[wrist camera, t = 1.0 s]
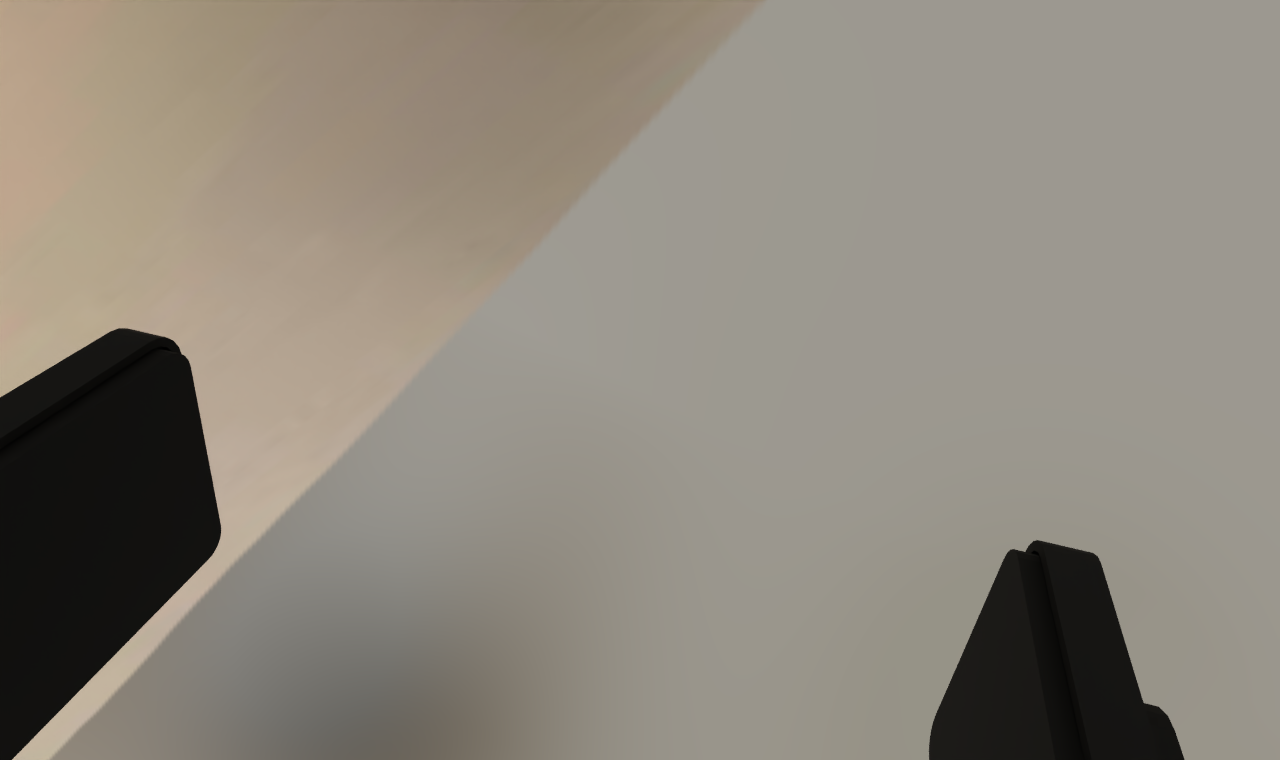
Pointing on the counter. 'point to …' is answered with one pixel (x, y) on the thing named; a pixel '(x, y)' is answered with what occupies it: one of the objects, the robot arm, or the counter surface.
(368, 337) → the counter surface
